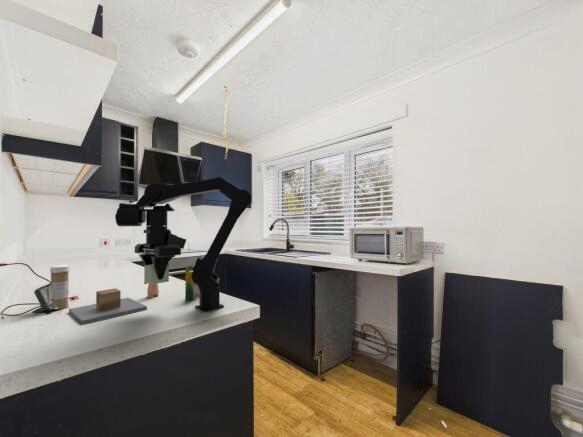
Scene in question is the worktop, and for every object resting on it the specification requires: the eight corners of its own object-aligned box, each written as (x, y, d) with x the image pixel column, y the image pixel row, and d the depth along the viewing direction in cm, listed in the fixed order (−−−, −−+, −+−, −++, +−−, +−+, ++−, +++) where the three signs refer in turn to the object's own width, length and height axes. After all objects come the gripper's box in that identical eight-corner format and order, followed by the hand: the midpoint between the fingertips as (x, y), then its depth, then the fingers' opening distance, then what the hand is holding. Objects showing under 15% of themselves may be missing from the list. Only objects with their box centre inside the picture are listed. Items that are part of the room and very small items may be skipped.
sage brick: (168, 281, 80) (168, 264, 80) (151, 284, 76) (151, 266, 76) (161, 279, 83) (161, 263, 83) (144, 282, 79) (144, 265, 79)
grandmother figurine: (152, 299, 94) (152, 263, 94) (142, 299, 94) (142, 263, 94) (163, 293, 101) (163, 260, 102) (153, 293, 102) (153, 260, 102)
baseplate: (146, 309, 82) (146, 306, 82) (82, 324, 70) (82, 320, 70) (128, 300, 92) (128, 297, 92) (68, 312, 80) (68, 309, 80)
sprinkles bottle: (54, 306, 86) (54, 265, 86) (71, 305, 87) (71, 264, 88) (46, 311, 82) (47, 267, 82) (64, 309, 83) (65, 266, 83)
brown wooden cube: (120, 307, 81) (120, 290, 81) (100, 311, 77) (101, 293, 78) (115, 304, 84) (115, 288, 85) (96, 307, 81) (96, 291, 81)
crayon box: (193, 300, 91) (193, 266, 91) (184, 300, 91) (184, 266, 91) (201, 295, 98) (201, 263, 99) (193, 295, 98) (193, 263, 99)
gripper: (197, 225, 80) (197, 277, 80) (169, 226, 92) (169, 271, 92) (160, 226, 72) (159, 284, 71) (134, 226, 84) (133, 276, 83)
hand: (156, 278), depth 80 cm, fingers closed on sage brick, 5 cm apart
